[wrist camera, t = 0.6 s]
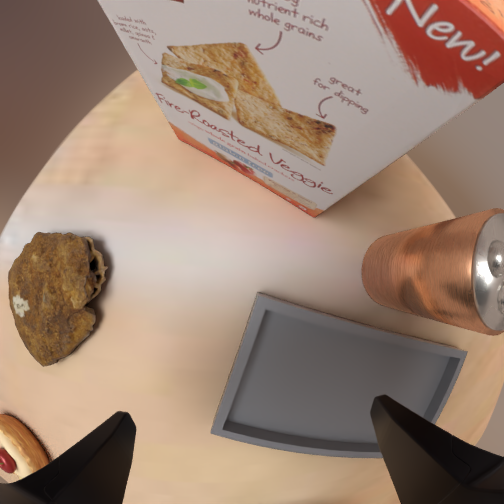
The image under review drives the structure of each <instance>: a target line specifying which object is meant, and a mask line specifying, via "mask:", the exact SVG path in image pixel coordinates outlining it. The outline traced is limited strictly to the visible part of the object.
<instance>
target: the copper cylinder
mask: <svg viewBox="0 0 504 504" xmlns="http://www.w3.org/2000/svg"><path fill="white" fill-rule="evenodd" d="M362 280H363V284H364V287H365V289H366V291H367V293H368V294H369V296H370V297H371V298H372V299H373V300H374V301H375V302H377V303H378V304H380V305H383V306H386V307H390V308H393V309H397V310H400V311H404V312H407V313H411V314H414V315H418V316H421V317H425V318H429V319H432V320H436V321H439V322H443V323H446V324H450V325H454V326H457V327H461V328H465V329H468V330H472V331H476V332H479V333H483V334H487V335H492V336H494V335H499V334H501V333H503V332H504V210H503V209H498V208H495V209H490V210H487V211H482V212H479V213H475V214H471V215H467V216H463V217H459V218H455V219H451V220H447V221H443V222H439V223H435V224H431V225H427V226H423V227H419V228H415V229H411V230H407V231H403V232H398V233H394V234H390V235H386V236H383V237H381V238H379V239H377V240H376V241H375V242H374V243H372V245H371V246H370V247H369V248H368V250H367V252H366V254H365V256H364V259H363V264H362Z"/></svg>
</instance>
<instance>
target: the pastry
mask: <svg viewBox="0 0 504 504" xmlns="http://www.w3.org/2000/svg"><path fill="white" fill-rule="evenodd" d="M47 464H49V460H48V457H47V455H46V453H45V451H44V449H43V447H42V446H41V444H40V443H39V441H38V440H37V439H36V437H35V436H34V435H33V434H32V433H31V431H30V430H29V429H28V428H27V427H26V426H25V425H24V424H23V423H22V422H20V421H19V420H18V419H16V418H14V417H12V416H8V415H4V414H0V468H1V469H2V470H4V471H5V472H7V473H14V474H17V475H18V478H19V479H22V478H24V477H26V476H28V475H30V474H32V473H34V472H36V471H37V470H39V469H41V468H42V467H44V466H46V465H47Z"/></svg>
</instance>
